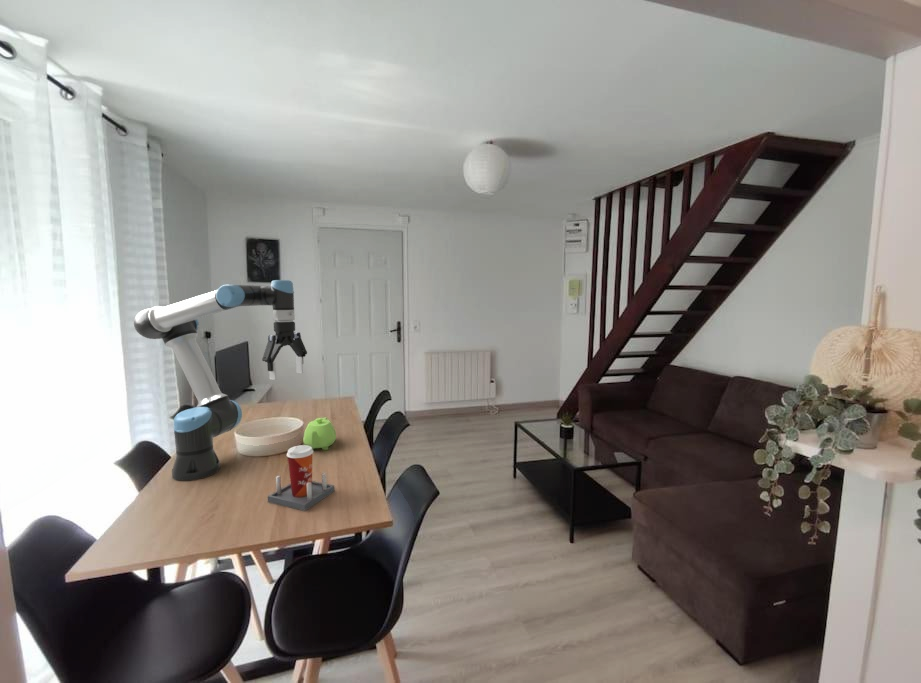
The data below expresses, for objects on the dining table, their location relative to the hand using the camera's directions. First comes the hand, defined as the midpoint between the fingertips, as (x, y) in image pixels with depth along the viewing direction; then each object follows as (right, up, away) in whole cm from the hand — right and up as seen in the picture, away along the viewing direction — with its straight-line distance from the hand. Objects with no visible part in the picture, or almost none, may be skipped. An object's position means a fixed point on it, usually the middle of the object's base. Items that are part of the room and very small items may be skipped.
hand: (286, 376), depth 159 cm
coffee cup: (+15, -37, -23) cm, 46 cm away
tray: (+15, -38, -23) cm, 47 cm away
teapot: (+6, -33, +21) cm, 39 cm away
